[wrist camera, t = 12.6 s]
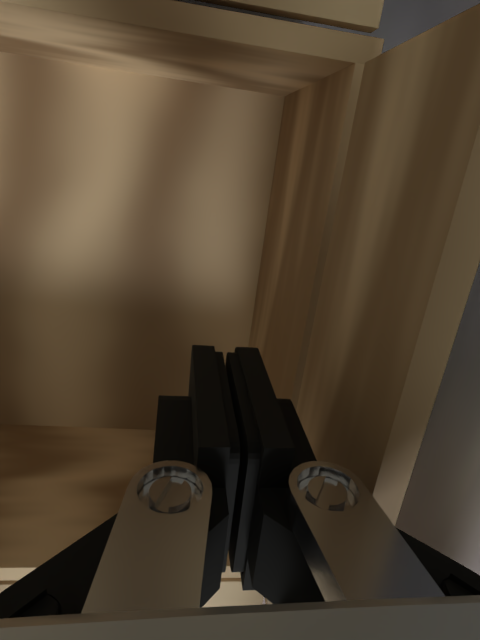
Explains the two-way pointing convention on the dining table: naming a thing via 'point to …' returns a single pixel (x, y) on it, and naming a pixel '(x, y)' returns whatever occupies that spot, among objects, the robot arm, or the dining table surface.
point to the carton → (154, 229)
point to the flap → (397, 258)
